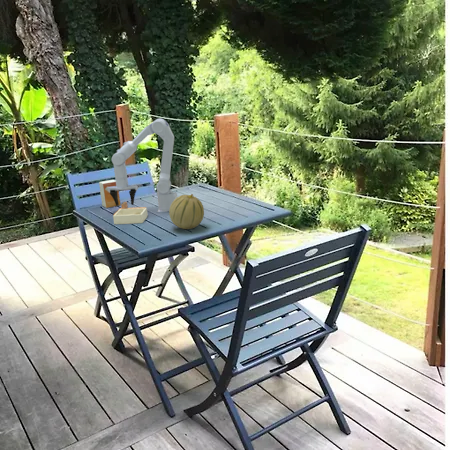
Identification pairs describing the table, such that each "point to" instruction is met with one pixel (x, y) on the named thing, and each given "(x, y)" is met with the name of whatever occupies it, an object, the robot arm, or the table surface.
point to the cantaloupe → (186, 211)
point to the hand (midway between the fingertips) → (125, 204)
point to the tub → (130, 216)
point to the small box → (108, 193)
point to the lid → (124, 206)
